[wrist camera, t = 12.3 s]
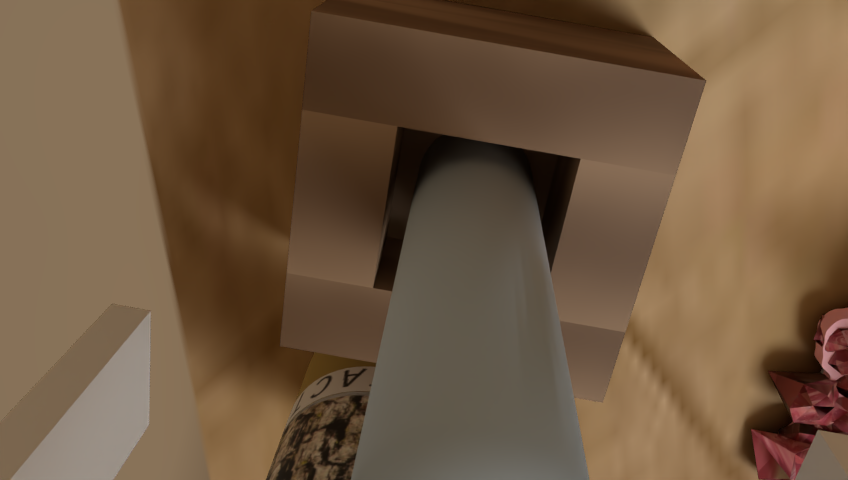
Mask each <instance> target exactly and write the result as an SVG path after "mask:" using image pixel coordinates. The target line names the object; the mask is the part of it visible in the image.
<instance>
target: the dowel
mask: <svg viewBox="0 0 848 480" xmlns="http://www.w3.org/2000/svg"><path fill="white" fill-rule="evenodd" d="M351 480H589V475H588V470H587V465H586V459H585V454H584V449H583V443H582V438H581V433H580V427H579V422H578V417H577V411H576V406H575V401H574V395H573V390H572V385H571V379H570V374H569V369H568V364H567V358H566V353H565V348H564V342H563V337H562V332H561V326H560V321H559V316H558V310H557V305H556V300H555V294H554V289H553V284H552V278H551V273H550V268H549V263H548V257H547V252H546V247H545V241H544V236H543V231H542V225H541V220H540V215H539V209H538V204H537V199H536V193H535V188H534V183H533V177H532V172H531V167H530V164H529V161H528V158H527V156H526V154H525V153H524V151H523V149H522V148H517V147H511V146H505V145H500V144H494V143H488V142H483V141H477V140H471V139H466V138H460V137H454V136H449V135H442V136H440V137H439V138H438V139H436V140H435V141H434V142H433V143H432V144H431V146H430V147H429V148H428V150H427V151H426V153H425V154H424V156H423V158H422V161H421V163H420V167H419V172H418V176H417V181H416V185H415V190H414V195H413V199H412V204H411V208H410V213H409V217H408V222H407V226H406V231H405V235H404V240H403V245H402V249H401V254H400V258H399V263H398V267H397V272H396V276H395V281H394V286H393V290H392V295H391V299H390V304H389V308H388V313H387V317H386V322H385V327H384V331H383V336H382V340H381V345H380V349H379V354H378V358H377V363H376V367H375V372H374V377H373V381H372V386H371V390H370V395H369V399H368V404H367V408H366V413H365V418H364V422H363V427H362V431H361V436H360V440H359V445H358V449H357V454H356V459H355V463H354V468H353V472H352V477H351Z"/></svg>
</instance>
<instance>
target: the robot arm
mask: <svg viewBox="0 0 848 480" xmlns="http://www.w3.org/2000/svg"><path fill="white" fill-rule="evenodd" d="M150 328H151V311H150V310H144V309H138V308H133V307H127V306H121V305H116V304H111V305H110V306H109V307H108V309H107V310H106V311H105V312H104V313H103V314H102V315H101V316H100V317H99V318H98V319H97V320H96V321H95V322H94V323H93V324H92V325H91V327H90V328H89V329H88V330H87V331H86V332H85V333H84V334H83V335H82V336H81V337H80V338H79V339H78V340H77V341H76V342H75V344H73V346H72V347H71V348H70V349H69V350H68V351H67V352H66V353H65V354H64V355H63V356H62V357H61V358H60V359H59V360H58V361H57V362H56V363H55V365H54V366H53V367H52V368H51V369H50V370H49V371H48V372H47V373H46V374H45V375H44V376H43V377H42V378H41V379H40V381H39V382H38V383H37V384H36V385H35V386H34V387H33V388H32V389H31V390H30V391H29V392H28V393H27V394H26V395H25V396H24V398H22V399H21V400H20V402H19V403H18V404H17V405H16V406H15V407H14V408H13V409H12V410H11V411H10V412H9V413H8V414H7V415H6V417H4V419H3V420H2V421H1V422H0V480H113V479H114V478H115V476H116V475H117V473H118V472H119V470H120V469H121V467H122V466H123V464H124V462H125V461H126V459H127V458H128V456H129V455H130V453H131V452H132V450H133V449H134V447H135V446H136V444H137V443H138V441H139V439H140V438H141V436H142V434H143V433H144V432H145V430H146V429H147V427H148V425H149V402H150V401H149V400H150V399H149V398H150V336H151V329H150ZM795 480H848V435H844V434H838V433H833V432H827V431H822V430H818V431H817V433H816V435H815V437H814V440H813V442H812V444H811V446H810V448H809V450H808V452H807V455H806V457H805V459H804V461H803V463H802V465H801V467H800V470H799V472H798V474H797V476H796V478H795Z"/></svg>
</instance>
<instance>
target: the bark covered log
mask: <svg viewBox="0 0 848 480" xmlns="http://www.w3.org/2000/svg"><path fill="white" fill-rule="evenodd" d="M375 367H376V363H374V362H368V361H362V360H356V359H351V358H345V357H339V356H334V355H328V354H322V353H316V352H315V353H314V355H313V356H312V358H311V361H310V363H309V366H308V369H307V371H306V374H305V377H304V379H303V382H302V385H301V388H300V390H299V393H298V396H297V399H296V401H295V404H294V406H293V408H292V410H291V413H290V416H289V419H288V421H287V424H286V427H285V429H284V432H283V435H282V438H281V440H280V443H279V446H278V448H277V451H276V454H275V457H274V459H273V462H272V465H271V467H270V470H269V473H268V476H267V478H266V480H351V477H352V472H353V468H354V463H355V459H356V454H357V449H358V445H359V440H360V436H361V431H362V427H363V422H364V418H365V413H366V408H367V404H368V399H369V395H370V390H371V386H372V381H373V377H374V372H375Z"/></svg>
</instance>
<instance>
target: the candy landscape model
mask: <svg viewBox="0 0 848 480" xmlns="http://www.w3.org/2000/svg"><path fill="white" fill-rule="evenodd" d="M814 340H815V342H816V348H815V353H814V355H815V357H816V359H817V360H818V362H819V363H820V365H821V366H822V367H823V369H822V370H821V372H820V373H819V374H816V373H797V372H779V371H768V372H769V374H770V376H771V378H772V380H773V382H774V384H775V386H776V388H777V390H778V392H779V395H780V397H781V399H782V401H783V403H784V405H785V407H786V409H787V411H788V413H789V415H790V417H791V419H792V421H793V422H792V423H790V424H789V425H788V426H786V427H784V428H782V429H779V434H775V433H770V432H765V431H760V430H755V429H751V432H752V438H753V445H754V451H755V458H756V464H757V471H758V477H759V479H766V480H795V478H796V476H797V474H798V472H799V470H800V467H801V465H802V463H803V461H804V459H805V457H806V455H807V452H808V450H809V448H810V446H811V444H812V442H813V440H814V437H815V435H816V433H817V431H818V430H822V431H827V432H833V433H838V434H844V435H848V307H847V308H843V309H834V310H831V311H829V312H828V313H826V314H825V315H822V317H821V319H820V321H819V323H818V327H817V331H816V334H815V337H814Z"/></svg>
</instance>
